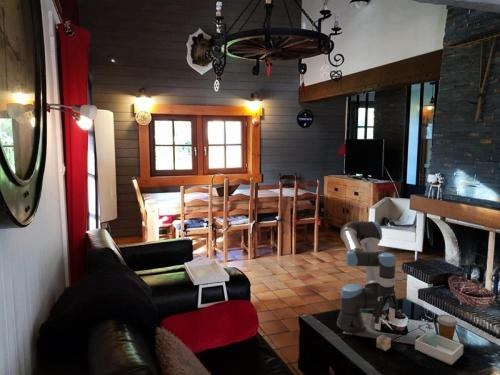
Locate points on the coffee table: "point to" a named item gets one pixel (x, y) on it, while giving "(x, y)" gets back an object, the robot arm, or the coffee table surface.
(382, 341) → the beech cube
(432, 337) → the teal capsule
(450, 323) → the disposable coffee cup
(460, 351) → the tote
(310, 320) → the coffee table surface
